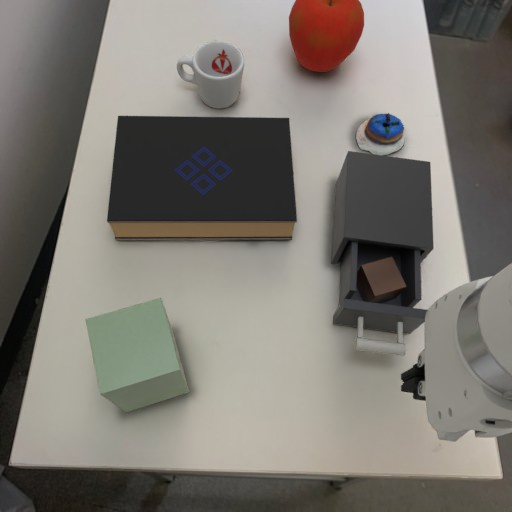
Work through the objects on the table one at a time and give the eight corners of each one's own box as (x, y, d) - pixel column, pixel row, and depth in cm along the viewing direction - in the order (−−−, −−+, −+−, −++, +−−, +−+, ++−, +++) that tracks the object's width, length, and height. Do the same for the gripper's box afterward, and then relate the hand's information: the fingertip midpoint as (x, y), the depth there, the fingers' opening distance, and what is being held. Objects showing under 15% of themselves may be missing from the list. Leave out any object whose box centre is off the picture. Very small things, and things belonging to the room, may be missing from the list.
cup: (172, 105, 81) (167, 68, 74) (186, 70, 84) (182, 31, 77) (236, 119, 80) (237, 83, 73) (247, 83, 84) (249, 45, 76)
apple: (292, 31, 90) (303, -44, 77) (356, 46, 89) (378, -27, 76) (275, 79, 84) (284, 8, 72) (343, 97, 84) (364, 27, 71)
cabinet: (410, 274, 71) (433, 248, 63) (330, 263, 71) (343, 236, 63) (409, 194, 76) (430, 161, 68) (335, 184, 76) (348, 150, 68)
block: (395, 298, 67) (407, 286, 63) (365, 307, 66) (375, 296, 62) (382, 269, 68) (392, 256, 64) (352, 278, 68) (361, 265, 64)
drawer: (409, 365, 64) (429, 353, 58) (330, 355, 64) (342, 341, 58) (408, 250, 71) (425, 228, 65) (337, 241, 71) (347, 218, 65)
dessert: (402, 115, 82) (412, 111, 76) (399, 155, 83) (409, 155, 77) (354, 114, 82) (360, 111, 76) (352, 155, 83) (358, 154, 77)
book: (126, 143, 77) (117, 115, 71) (284, 145, 79) (289, 117, 73) (116, 243, 70) (106, 220, 64) (291, 242, 72) (297, 220, 66)
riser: (189, 392, 62) (180, 369, 49) (126, 412, 61) (100, 394, 48) (173, 333, 65) (161, 297, 52) (113, 351, 64) (85, 318, 51)
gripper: (607, 477, 27) (459, 476, 43) (568, 233, 33) (452, 315, 49) (470, 459, 27) (375, 465, 43) (456, 218, 33) (378, 305, 49)
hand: (416, 385), depth 46 cm, fingers closed
